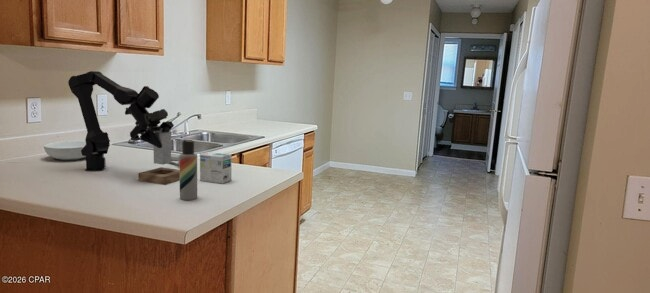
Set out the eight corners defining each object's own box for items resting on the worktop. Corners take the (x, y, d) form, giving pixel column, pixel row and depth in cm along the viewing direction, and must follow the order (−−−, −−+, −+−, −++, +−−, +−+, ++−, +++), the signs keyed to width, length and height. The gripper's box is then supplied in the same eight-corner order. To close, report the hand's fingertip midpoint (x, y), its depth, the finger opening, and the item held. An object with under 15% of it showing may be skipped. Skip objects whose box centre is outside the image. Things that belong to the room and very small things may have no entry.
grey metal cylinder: (164, 151, 211) (192, 151, 194) (165, 165, 211) (193, 166, 195) (154, 152, 207) (181, 153, 190) (155, 166, 208) (183, 168, 191)
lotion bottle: (182, 195, 151) (181, 138, 148) (198, 196, 152) (198, 138, 149) (177, 200, 146) (177, 140, 143) (195, 200, 146) (195, 141, 143)
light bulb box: (232, 180, 176) (232, 154, 174) (222, 184, 170) (223, 156, 168) (209, 177, 179) (209, 151, 177) (199, 180, 173) (199, 153, 171)
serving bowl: (49, 155, 209) (48, 140, 208) (98, 153, 217) (98, 140, 216) (39, 163, 190) (38, 148, 189) (94, 162, 198) (93, 147, 197)
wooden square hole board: (138, 180, 169) (138, 173, 168) (161, 174, 180) (161, 167, 180) (164, 184, 165) (164, 176, 164) (186, 178, 176) (186, 170, 176)
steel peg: (153, 163, 170) (153, 132, 168) (161, 161, 174) (161, 131, 172) (163, 164, 169) (162, 133, 167) (171, 162, 173) (170, 132, 171)
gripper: (135, 103, 160) (159, 136, 158) (169, 101, 178) (192, 130, 176) (119, 123, 164) (143, 155, 162) (154, 119, 182) (176, 148, 180)
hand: (165, 146), depth 170 cm, fingers closed on steel peg, 4 cm apart
